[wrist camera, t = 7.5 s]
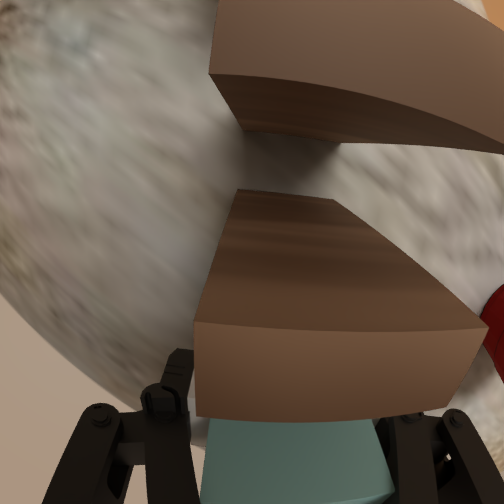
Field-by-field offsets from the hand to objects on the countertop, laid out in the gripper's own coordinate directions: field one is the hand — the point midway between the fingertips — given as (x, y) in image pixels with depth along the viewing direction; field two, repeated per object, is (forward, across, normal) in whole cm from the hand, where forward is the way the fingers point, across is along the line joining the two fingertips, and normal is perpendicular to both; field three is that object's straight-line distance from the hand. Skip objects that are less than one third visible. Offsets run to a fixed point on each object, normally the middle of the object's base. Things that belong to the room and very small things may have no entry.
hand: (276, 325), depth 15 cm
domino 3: (+2, 0, 0) cm, 2 cm away
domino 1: (+3, 0, +10) cm, 10 cm away
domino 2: (+3, 0, +5) cm, 6 cm away
